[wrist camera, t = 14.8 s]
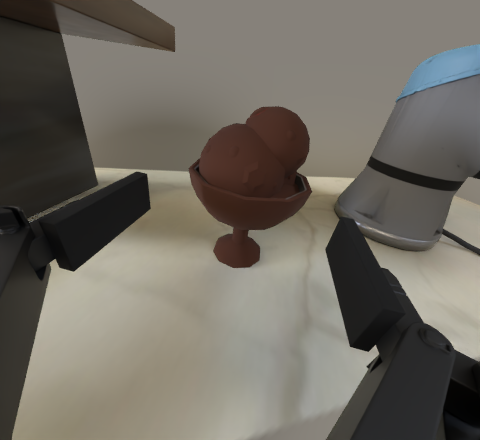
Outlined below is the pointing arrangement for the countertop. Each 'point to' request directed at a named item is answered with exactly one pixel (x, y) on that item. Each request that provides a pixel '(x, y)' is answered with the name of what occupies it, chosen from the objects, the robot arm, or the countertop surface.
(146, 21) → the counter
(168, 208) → the countertop surface
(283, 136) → the ice cream bowl
